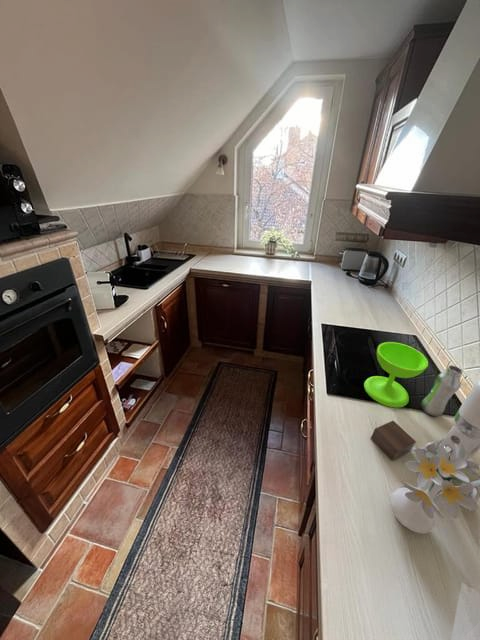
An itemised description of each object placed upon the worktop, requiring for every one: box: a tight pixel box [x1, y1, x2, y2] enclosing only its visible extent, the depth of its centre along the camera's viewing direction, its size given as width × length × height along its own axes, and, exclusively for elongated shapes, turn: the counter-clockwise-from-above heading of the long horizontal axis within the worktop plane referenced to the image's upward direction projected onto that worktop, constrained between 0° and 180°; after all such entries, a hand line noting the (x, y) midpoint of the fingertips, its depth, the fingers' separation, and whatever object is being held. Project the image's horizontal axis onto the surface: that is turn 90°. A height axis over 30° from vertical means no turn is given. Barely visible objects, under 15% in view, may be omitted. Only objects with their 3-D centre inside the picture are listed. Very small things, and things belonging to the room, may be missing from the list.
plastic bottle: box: [420, 365, 463, 417], centre depth 87 cm, size 6×7×20 cm
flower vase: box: [389, 437, 480, 535], centre depth 56 cm, size 13×18×25 cm
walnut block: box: [370, 420, 417, 462], centre depth 79 cm, size 8×8×5 cm
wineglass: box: [363, 341, 429, 409], centre depth 95 cm, size 16×16×18 cm
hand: (446, 462), depth 71 cm, fingers open, 9 cm apart
